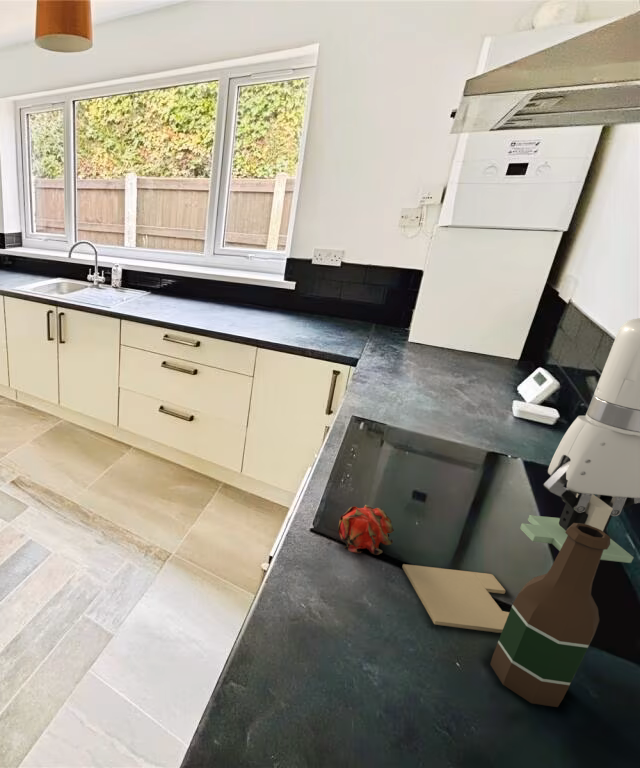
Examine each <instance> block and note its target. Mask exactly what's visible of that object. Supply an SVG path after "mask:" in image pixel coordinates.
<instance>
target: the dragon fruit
mask: <svg viewBox="0 0 640 768" xmlns="http://www.w3.org/2000/svg"><path fill="white" fill-rule="evenodd" d="M393 532H395V529H394V527H393V525H392V519H391V518H390V517H389V516H388V515H387V513H386V511H385V510H383V509H382V508H381V507H376V508H373V507H372V506H370V505H368V504H365V505H364V506H363V507H357V506H355V505H354V506H351V507H349V508H348V509H347V510H346V511H345V512H344V513H343V514H341V516H340V517H339V523H338V527H337V534H338V535H339V538H340V539H341V541H342V542H343V543H345V545H346V546H344V549H347V550H348V552H349V553H353V554H361V553H362V552H363V550H365V549H366V550H368V552H369V553H370V554H371V555H372V554H373V555H375V556H379V555H380V554H382V553H383V550H382V549H381V548H379V545H380V544H383V546H390V545H393V543H394V541H393V539H392V538H391V539H389V538H390V534H392V533H393Z"/></svg>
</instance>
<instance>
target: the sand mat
mask: <svg viewBox="0 0 640 768" xmlns="http://www.w3.org/2000/svg"><path fill="white" fill-rule="evenodd" d="M401 568H402V569H403V571H404V573H405V575H406V577H407V578H408V580H409V583H410V584H411V586H412V587H413V589H414V591H415V593H416V595H417V596H418V598H419V600H420V602H421V603H422V605H423V607H424V608H425V611H426V612H427V614H428V616H429V617H430V620H431V621H432V623H433V624H434V625H436V626H437V625H438V626H445V627H451V628H458V629H459V628H460V629H468V630H476V631H482V632H483V631H484V632H490V633H491V632H492V633H497V634H501V633H502V630H503V628H504V625H505V623H506V620H507V618H508V615H509V612H510V611H503V610H502V608H501V607H500V606H499V604H498V603H497V602H496V601H495V599H494V598H493V597H492V595H491V594H490V593H494V594H503V595H505V593H506V589H505V588H504V587H503V585H502V584H501V583H500V581H498V579H497V578H496V577H495V576H494V574H493V573H484V572H477V571H467V570H458V569H449V568H443V567H442V568H441V567H432V566H424V565H414V564H405V563H403V564H402V567H401Z"/></svg>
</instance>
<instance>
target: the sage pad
mask: <svg viewBox="0 0 640 768" xmlns="http://www.w3.org/2000/svg"><path fill="white" fill-rule="evenodd" d="M576 497H578V493H577V495H576ZM612 509H613V508H611V507H610V506H609V505H607V504H606V503H605V502H603V501H602V500H600V499H599V498H598V497H597V495H596V494H593V495H592V497H591V499H590V501H589V504H588V506H587V508H586V510H585V511H584V512H585V513H587V514H588V517H587V520H586V522H585V524H587V525H590V526H592V527H595V528H597V529H600V530H602V531H603V530H604V527H605V525H606V523H607V521H608V518H609V516H610V514H611V512H612ZM527 521H528V522H529V523H523V522H522V523H521V525H520V527H519V528H520V529H519V530H521V531H522V532H523V534H525V535H526V536H527V538H528V539H530V540H531V541H532V542H533V543H540V544H541V543H542V544H551V545H552V546H554V547H555V548H556V549H557V550H558V552H560V550H561V548H562V546H563V544H564V542H565V540H566V538H567V536H568V535H567V534H566V533H565V532H566V531H565V530H564V529H563V528H562V527H561V526H560V525H559V521H560V517H551V516H541V515H530V514H529V516H528V518H527ZM633 560H634V556H633V555H632V554H631V553H629V552H628V551H626V549H624V548H623V547H622V546H620V545H619V544H618V543H617V542H615V540H613V539H612V538H610V546H609V547H608V549H605V550H603V553H602V556H601V559H600V561H609V562H619V563H627V564H632V562H633Z"/></svg>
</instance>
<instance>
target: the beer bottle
mask: <svg viewBox="0 0 640 768" xmlns="http://www.w3.org/2000/svg"><path fill="white" fill-rule="evenodd" d="M565 533H566V534H567V535H568V536H567V538H566V540H565V542H564V544H563V546H562V548H561V550H560V551H558V554H557V556H556V557H555V559H554V561H553V563H552V565H551V567H550V568H549V570H548V572H546V573H543V574H540V575H538V576H535V577H533V578H532V579H530V580H529V581H528V582H526V583H525V584H524V585H523V587H522V588H521V590H520V591H519V592H518V594H517V596H516V597H515V599H514V601H513V603H512V605H511V607H510V610H509V611H508V612H509V615H508V618H507V620H506V623H505V625H504V628H503V630H502V633H500V635H499V638H498V641H497V643H496V646H495V648H494V651H493V654H492V657H491V660H490V664H489V665H490V666H491V668H492V669H493V671H494V674H496V676H497V678H498V679H499V681H500V682H501V684H502V685H503V686H504V687H505V688H507V689H509V690H511V692H513V693H515V694H516V695H518V696H519V697H521V698H523V699H524V700H525V701H527V702H528V703H530V704H533V705H541V706H545V707H552V708H559V706H560V704H561V703H562V701H563V700H564V698H565V695H566V694H567V692H568V690H569V688H570V686H571V684H572V682H573V680H574V678H575V675H576V673H577V672H578V669H579V667H580V665H581V663H582V661H583V659H584V657H585V655H586V653H587V651H588V649H589V647H590V644H591V643H592V641H593V639H594V637H595V634H596V632H597V629H598V626H599V623H600V616H599V608H598V606H597V603H596V601H595V599H594V598H593V595H592V590H593V589H592V588H593V582H594V580H595V576H596V574H597V570H598V567H599V564H600V563H601V560H600V559H601V556H602V553H603V550H605V549H608V547H609V546H610V539H611V536H609V535H608V534H607V533H606V532H605V533H604V532H603V531H602V530H600V529H597V528H595V527H592V526H590V525H587V524H580V523H573V524H572V525H571V526H570V527H569V528H568V529H567V530H566V532H565Z"/></svg>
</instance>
